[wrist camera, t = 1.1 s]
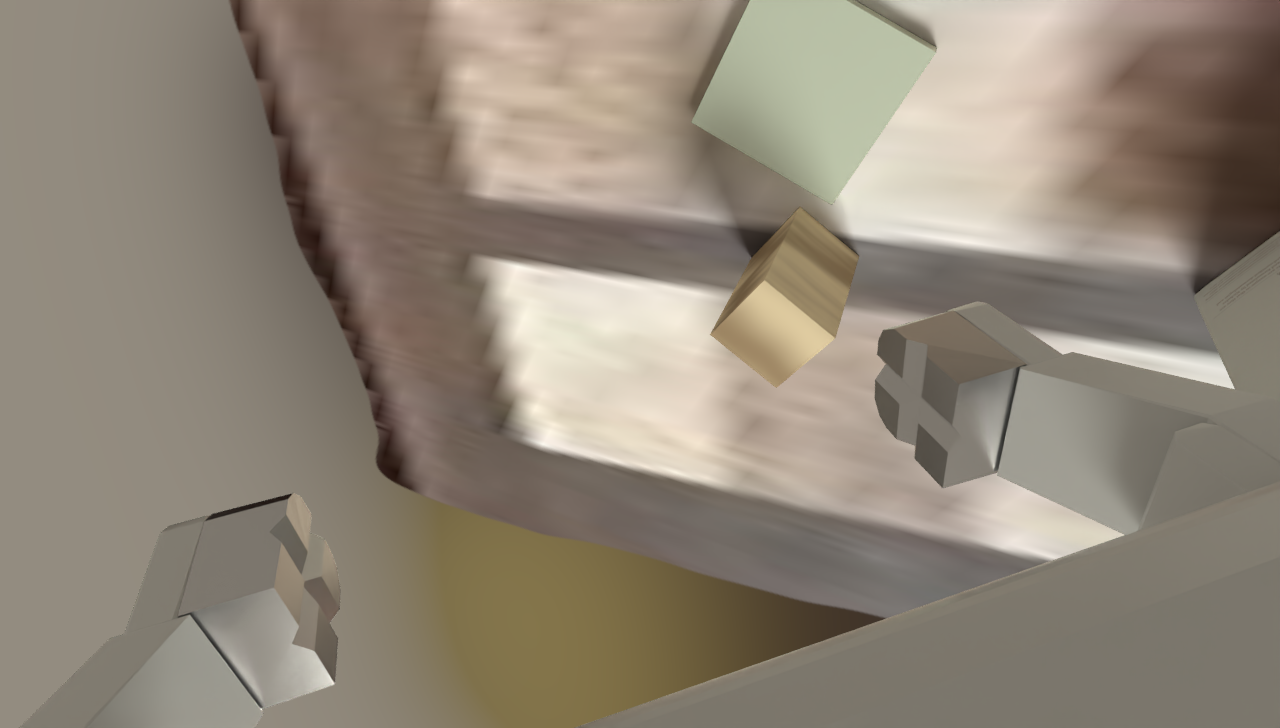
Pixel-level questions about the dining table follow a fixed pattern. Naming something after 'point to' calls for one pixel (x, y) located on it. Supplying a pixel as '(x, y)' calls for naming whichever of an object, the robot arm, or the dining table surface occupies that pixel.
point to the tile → (811, 87)
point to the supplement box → (1247, 319)
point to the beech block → (788, 299)
